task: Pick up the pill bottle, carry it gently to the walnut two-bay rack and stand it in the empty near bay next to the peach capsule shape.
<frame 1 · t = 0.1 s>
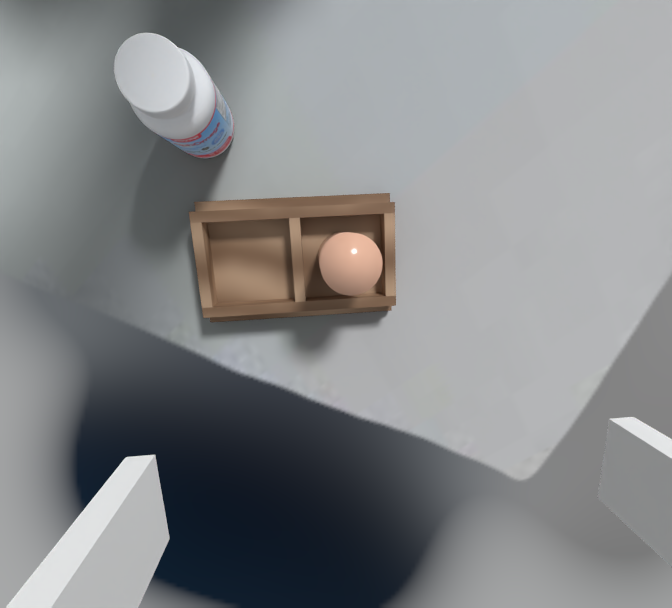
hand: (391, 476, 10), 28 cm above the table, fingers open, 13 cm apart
rack: (298, 258, 36), on the table
peach capsule shape: (342, 256, 35), point 1 cm above the table, touching rack
pill bottle: (204, 125, 33), on the table
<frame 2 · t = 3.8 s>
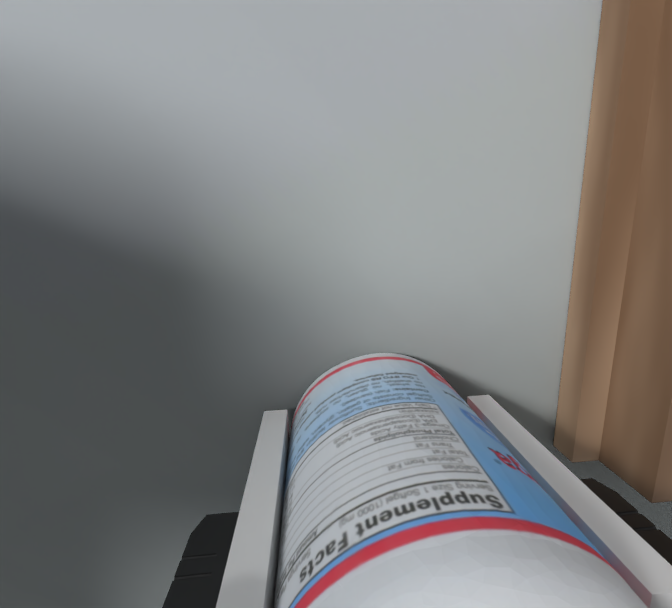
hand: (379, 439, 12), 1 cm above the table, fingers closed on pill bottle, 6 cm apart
pill bottle: (373, 421, 13), on the table, touching gripper
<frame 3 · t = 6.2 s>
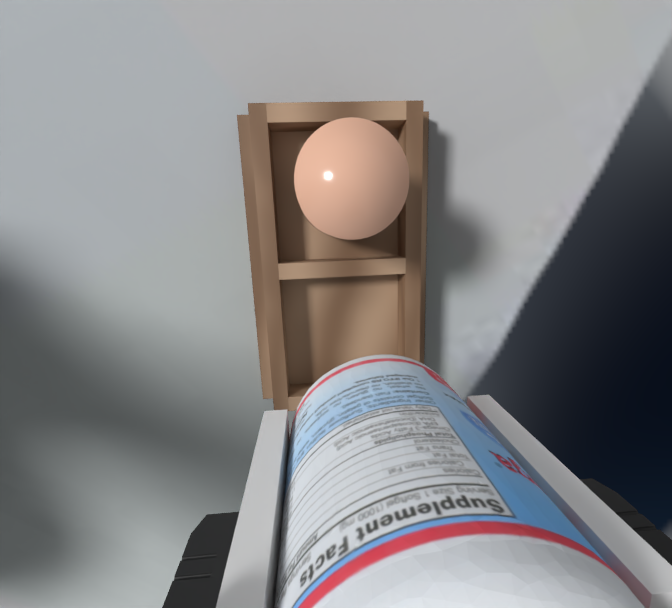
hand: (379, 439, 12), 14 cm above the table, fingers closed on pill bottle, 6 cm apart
rack: (338, 263, 25), on the table
peach capsule shape: (337, 196, 23), point 1 cm above the table, touching rack
pill bottle: (373, 422, 13), point 13 cm above the table, touching gripper
when the fingers open (3 cm above the table, at t = 8.8 s): pill bottle drops 1 cm, resting on rack.
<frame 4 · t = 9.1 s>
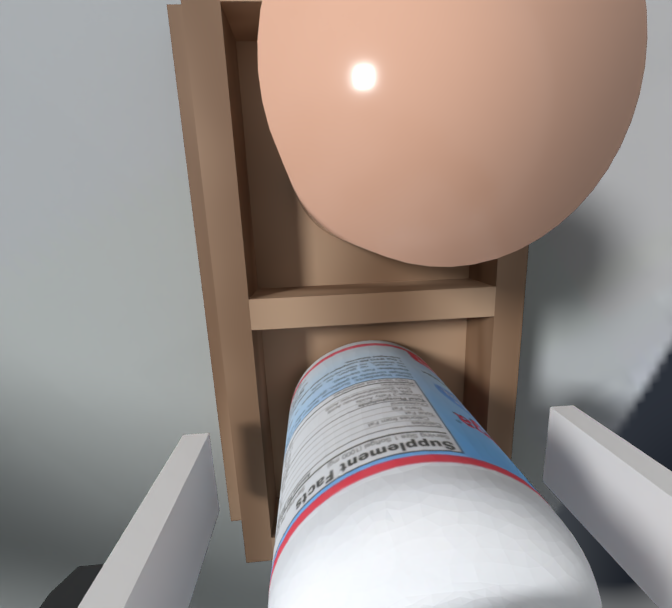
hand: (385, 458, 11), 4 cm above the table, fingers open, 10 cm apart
rack: (361, 291, 14), on the table
peach capsule shape: (363, 170, 12), point 1 cm above the table, touching rack
pill bottle: (364, 402, 14), point 1 cm above the table, touching rack
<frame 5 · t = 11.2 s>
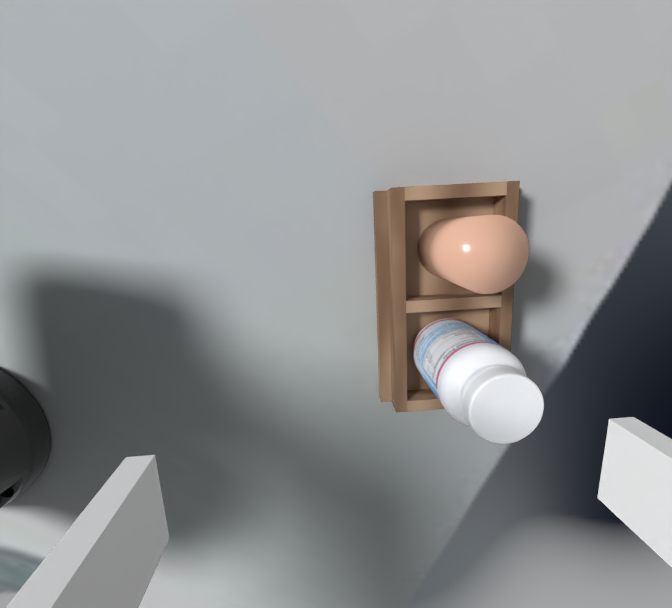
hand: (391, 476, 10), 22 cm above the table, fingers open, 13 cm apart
rack: (441, 297, 32), on the table
peach capsule shape: (446, 248, 30), point 1 cm above the table, touching rack
pill bottle: (442, 347, 32), point 1 cm above the table, touching rack
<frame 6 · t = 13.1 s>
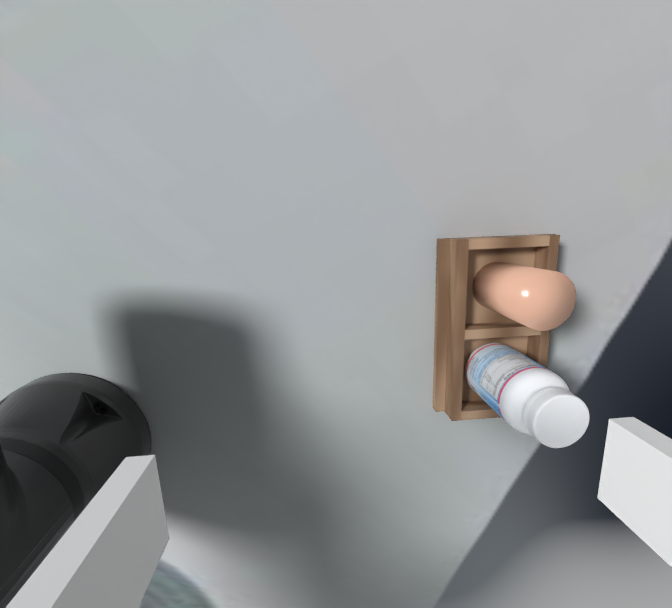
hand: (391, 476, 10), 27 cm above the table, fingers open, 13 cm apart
rack: (488, 324, 38), on the table
peach capsule shape: (495, 285, 36), point 1 cm above the table, touching rack
pill bottle: (488, 366, 38), point 1 cm above the table, touching rack
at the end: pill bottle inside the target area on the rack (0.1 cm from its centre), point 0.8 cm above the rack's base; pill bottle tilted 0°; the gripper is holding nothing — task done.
